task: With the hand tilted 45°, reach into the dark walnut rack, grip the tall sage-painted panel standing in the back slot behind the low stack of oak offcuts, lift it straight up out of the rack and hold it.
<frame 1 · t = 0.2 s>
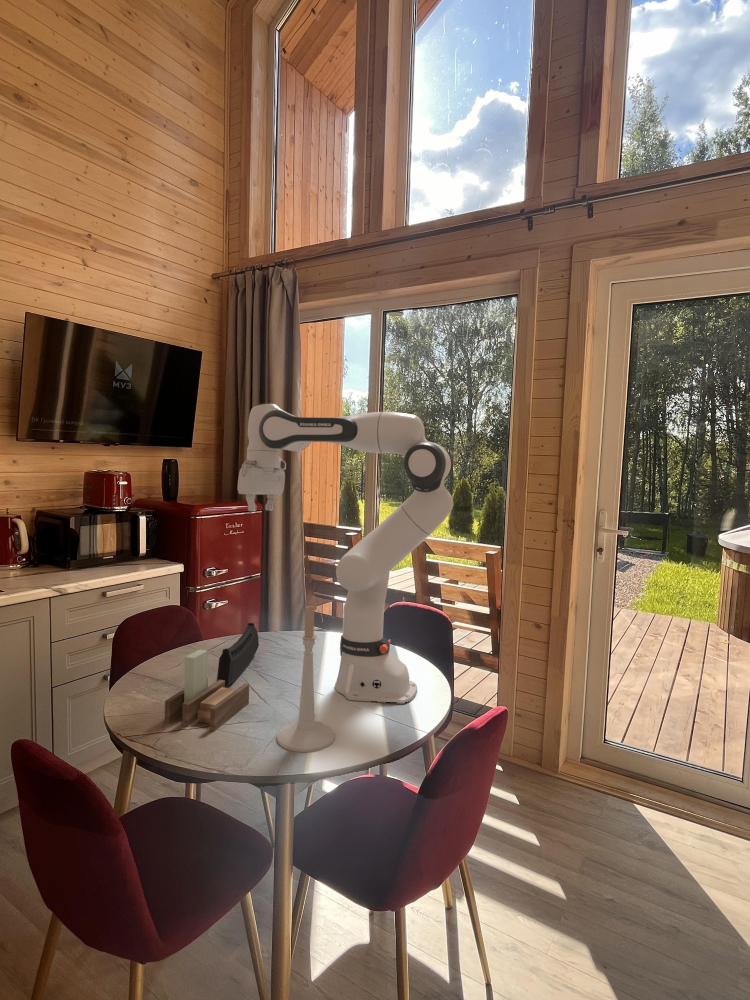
hand: (260, 510, 162), 47 cm above the table, tool pointing down, fingers open, 8 cm apart
walnut rack: (208, 712, 138), on the table
tall panel: (195, 710, 139), on the table
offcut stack: (217, 714, 138), on the table
candlestick: (305, 738, 127), on the table
magazine: (239, 671, 167), on the table
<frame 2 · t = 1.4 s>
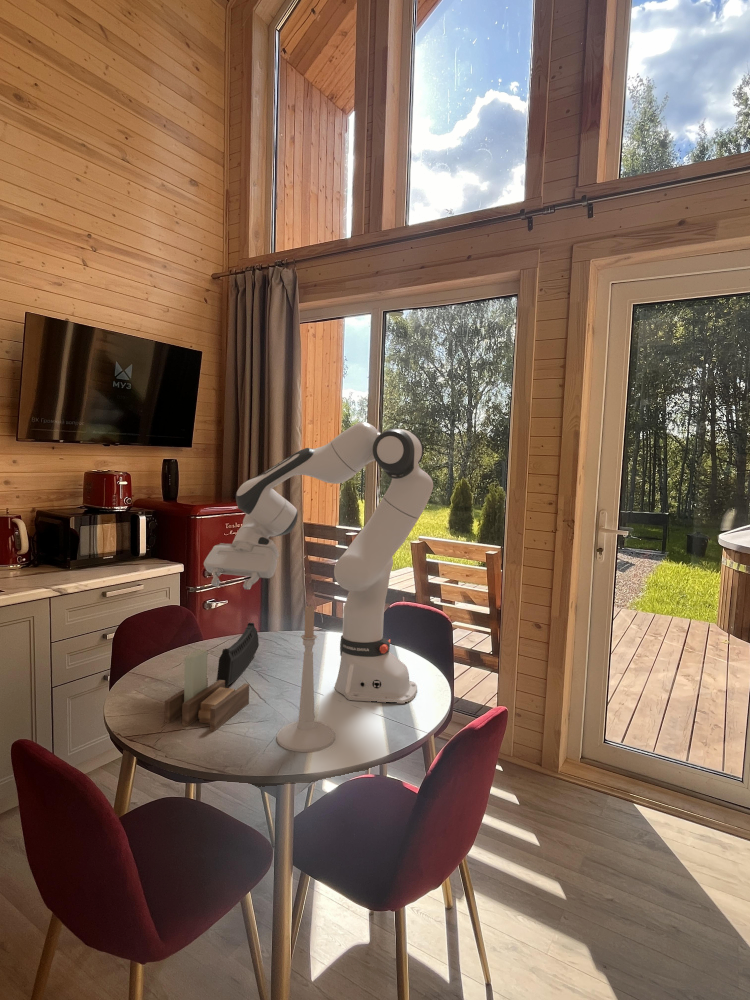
hand: (230, 586, 153), 27 cm above the table, tool tilted 45°, fingers open, 8 cm apart
nothing on the table moved.
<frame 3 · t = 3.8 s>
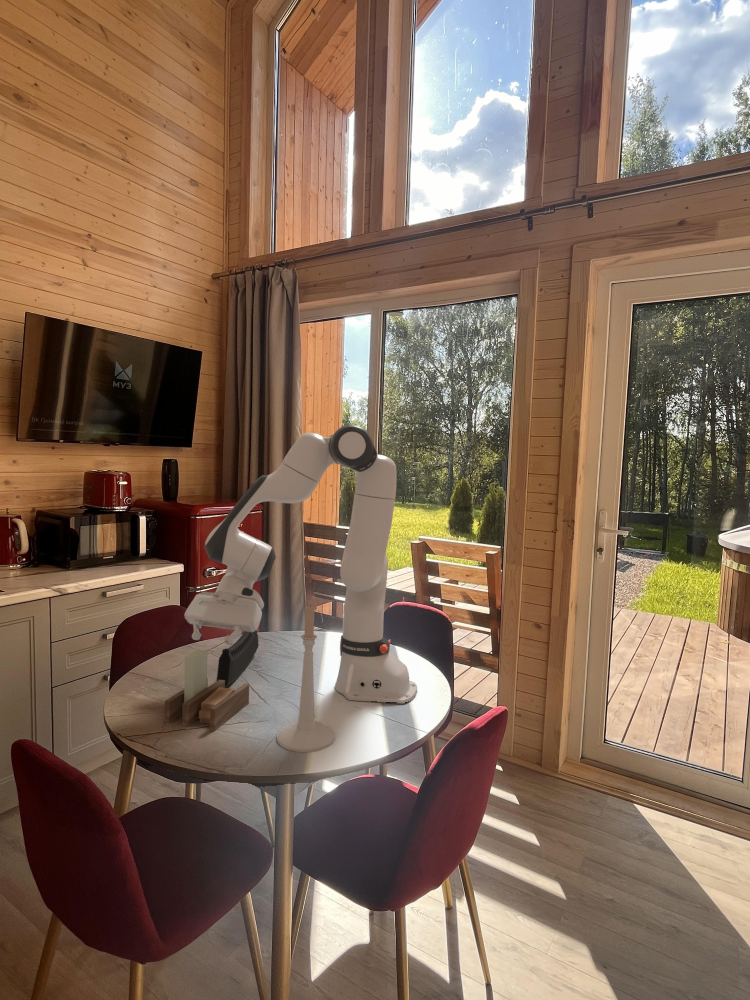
hand: (211, 641, 145), 15 cm above the table, tool tilted 45°, fingers open, 8 cm apart
nothing on the table moved.
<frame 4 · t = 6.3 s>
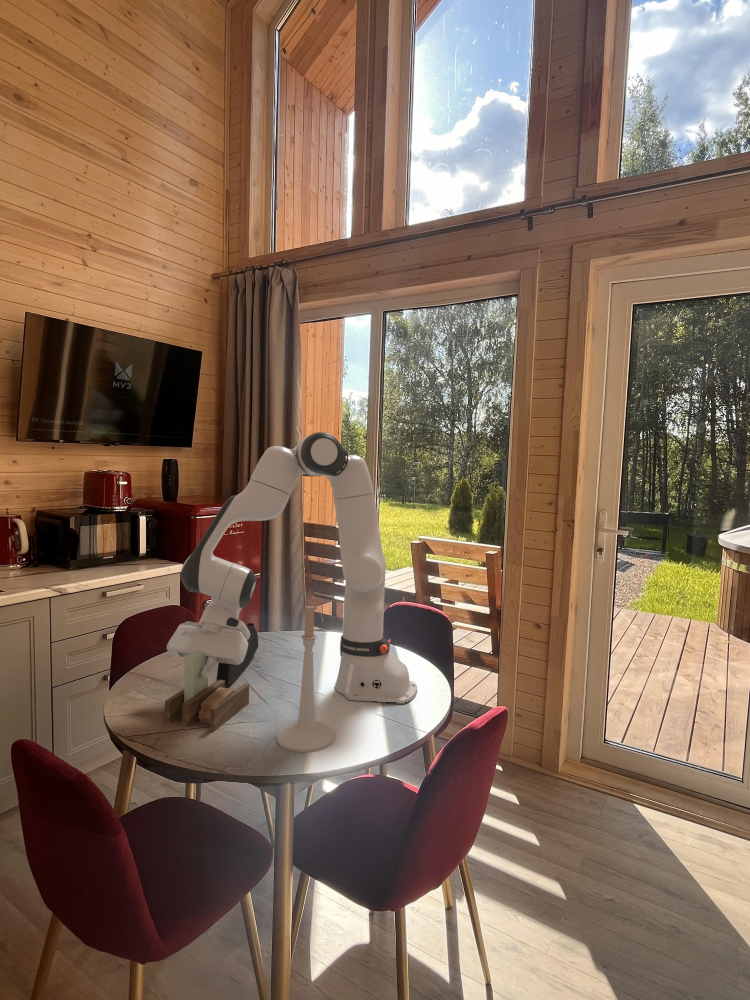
hand: (194, 675, 138), 9 cm above the table, tool tilted 45°, fingers closed on tall panel, 2 cm apart
tall panel: (195, 710, 139), on the table, touching gripper
everything else where it was.
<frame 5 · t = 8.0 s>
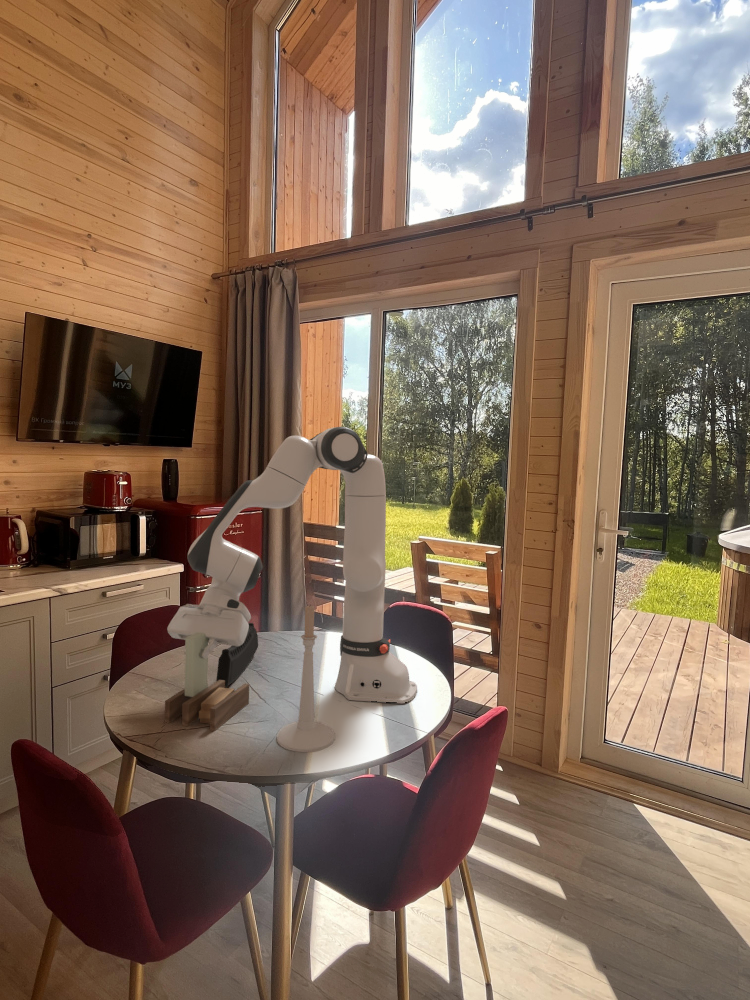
hand: (195, 656, 138), 13 cm above the table, tool tilted 45°, fingers closed on tall panel, 2 cm apart
tall panel: (196, 691, 139), point 5 cm above the table, touching gripper
everything else where it was.
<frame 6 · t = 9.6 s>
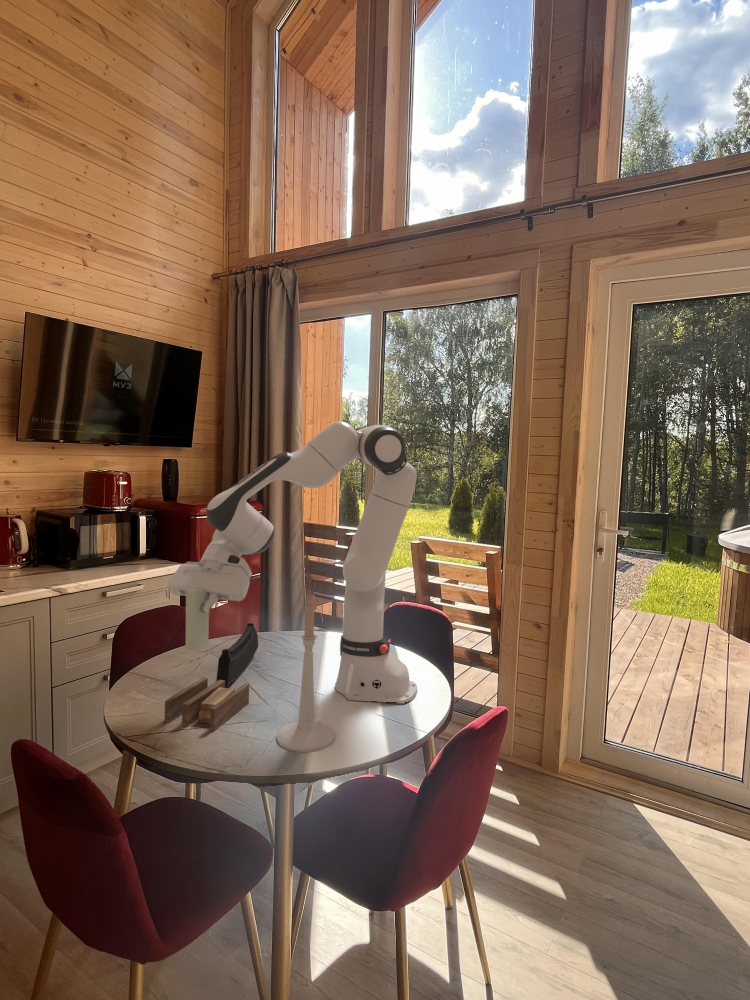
hand: (196, 610, 137), 25 cm above the table, tool tilted 45°, fingers closed on tall panel, 2 cm apart
tall panel: (197, 646, 138), point 16 cm above the table, touching gripper
everything else where it was.
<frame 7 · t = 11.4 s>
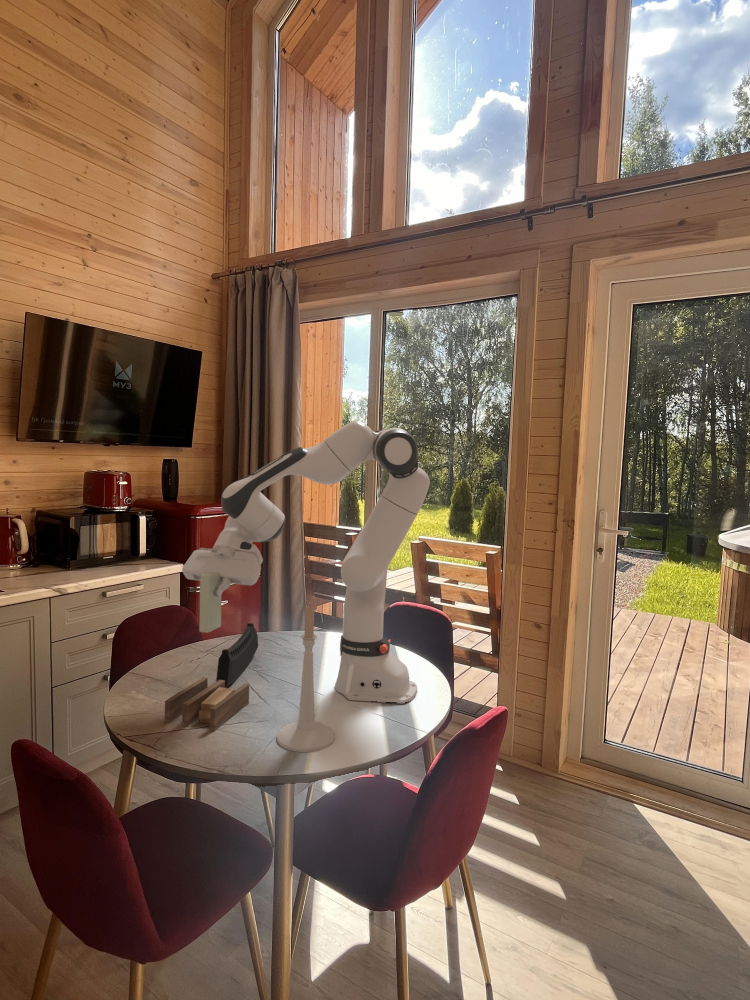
hand: (209, 594, 143), 27 cm above the table, tool tilted 45°, fingers closed on tall panel, 2 cm apart
tall panel: (210, 628, 144), point 18 cm above the table, touching gripper
everything else where it was.
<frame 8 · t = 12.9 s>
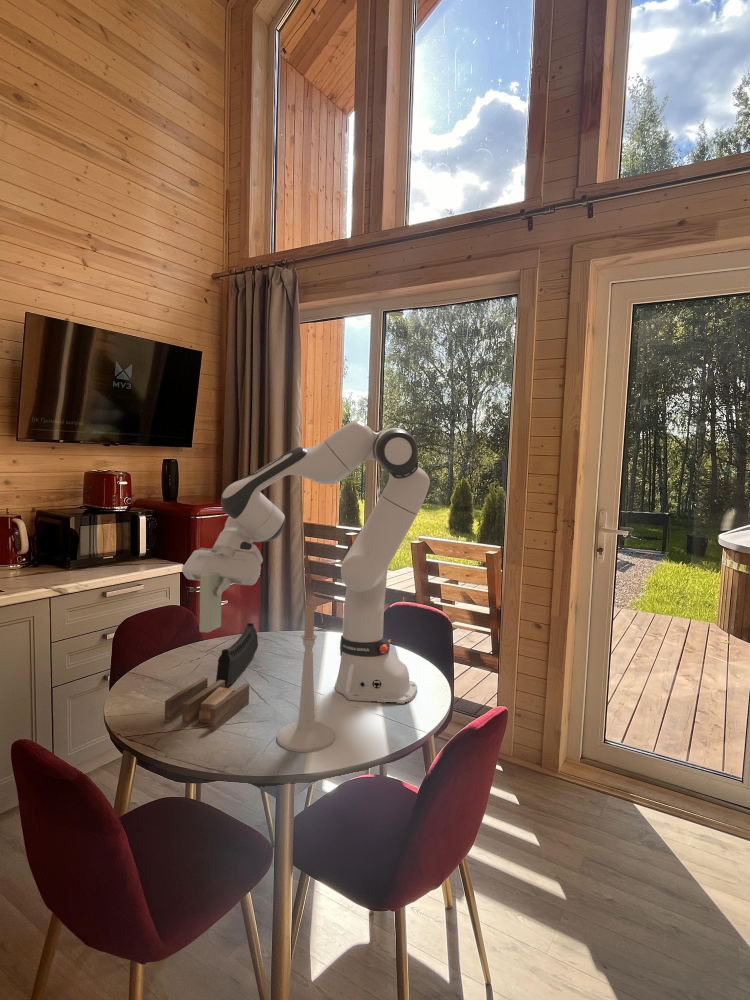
hand: (209, 594, 143), 27 cm above the table, tool tilted 45°, fingers closed on tall panel, 2 cm apart
tall panel: (210, 628, 144), point 18 cm above the table, touching gripper
everything else where it was.
at the end: tall panel point 18.5 cm above the table; the gripper is holding tall panel; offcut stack moved 0.3 cm from its start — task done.
